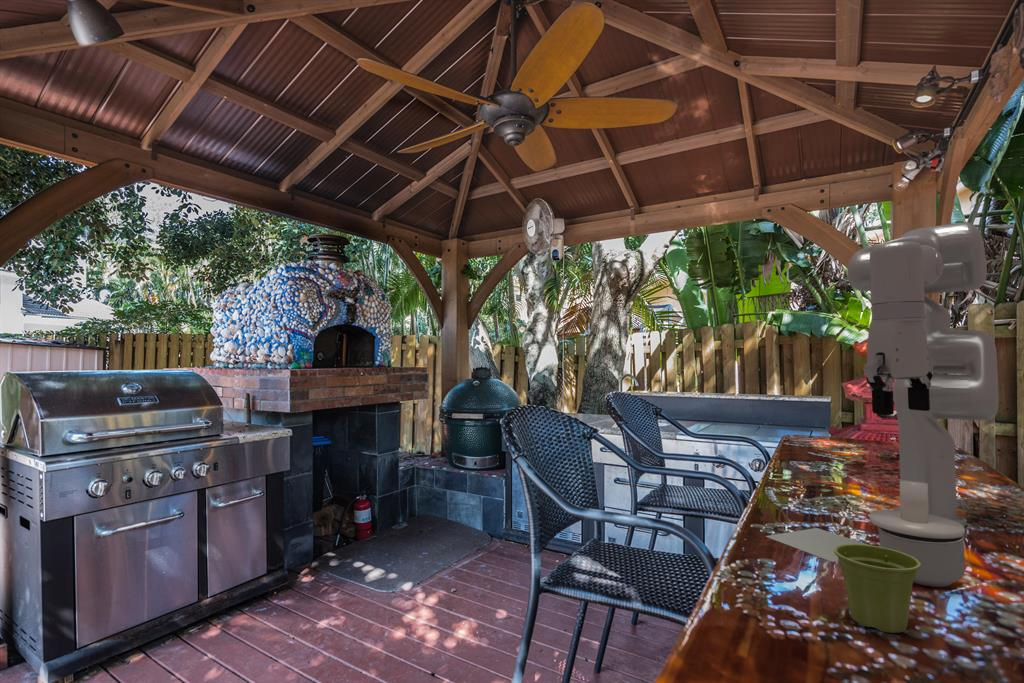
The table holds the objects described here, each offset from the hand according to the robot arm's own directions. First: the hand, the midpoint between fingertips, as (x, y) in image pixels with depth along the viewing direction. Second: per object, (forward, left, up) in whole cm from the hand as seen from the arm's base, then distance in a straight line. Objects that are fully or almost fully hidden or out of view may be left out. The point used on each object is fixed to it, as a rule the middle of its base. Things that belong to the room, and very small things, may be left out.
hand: (901, 412), depth 90 cm
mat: (+6, -11, -26) cm, 28 cm away
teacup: (+5, +4, -26) cm, 27 cm away
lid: (+5, +5, -18) cm, 19 cm away
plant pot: (+26, +12, -26) cm, 39 cm away
